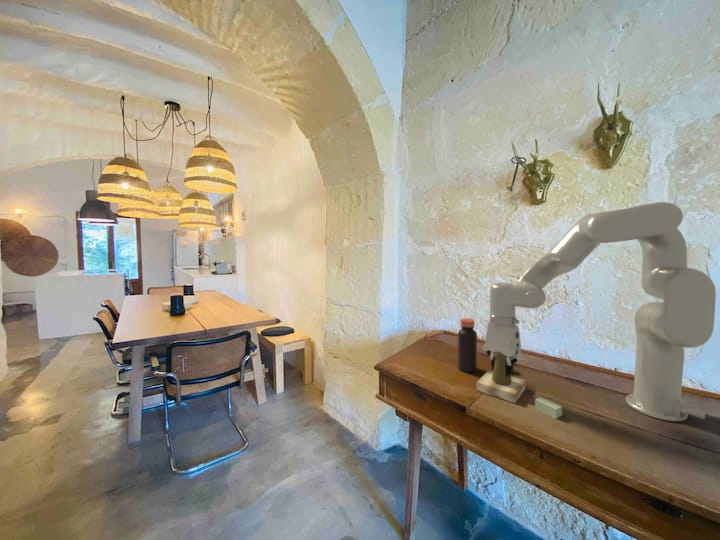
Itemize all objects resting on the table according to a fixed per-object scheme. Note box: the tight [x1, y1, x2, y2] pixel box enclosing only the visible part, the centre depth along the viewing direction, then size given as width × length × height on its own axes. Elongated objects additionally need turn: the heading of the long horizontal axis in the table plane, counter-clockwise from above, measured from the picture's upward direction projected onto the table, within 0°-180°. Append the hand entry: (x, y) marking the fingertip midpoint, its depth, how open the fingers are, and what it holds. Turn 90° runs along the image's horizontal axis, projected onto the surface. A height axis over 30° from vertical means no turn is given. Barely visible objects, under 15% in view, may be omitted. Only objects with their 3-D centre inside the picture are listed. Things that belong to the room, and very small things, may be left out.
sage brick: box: [534, 396, 563, 420], centre depth 84 cm, size 6×3×3 cm, turn 26°
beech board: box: [476, 369, 526, 404], centre depth 97 cm, size 12×12×3 cm
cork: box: [492, 351, 512, 385], centre depth 97 cm, size 6×6×11 cm
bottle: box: [457, 318, 478, 374], centre depth 112 cm, size 7×7×20 cm
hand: (501, 372), depth 97 cm, fingers closed on cork, 3 cm apart
